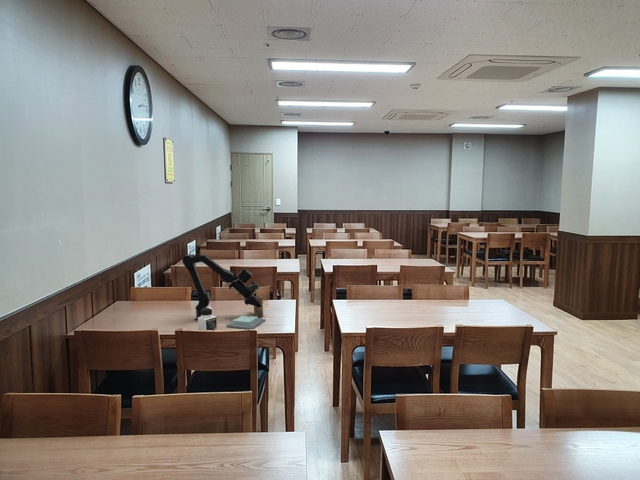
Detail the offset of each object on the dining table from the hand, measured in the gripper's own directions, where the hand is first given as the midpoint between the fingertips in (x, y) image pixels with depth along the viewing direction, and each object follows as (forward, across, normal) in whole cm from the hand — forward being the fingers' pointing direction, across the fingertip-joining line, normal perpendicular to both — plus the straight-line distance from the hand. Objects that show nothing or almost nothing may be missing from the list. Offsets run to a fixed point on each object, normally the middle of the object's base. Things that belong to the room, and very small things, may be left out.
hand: (260, 305), depth 262 cm
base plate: (-1, -14, +10) cm, 17 cm away
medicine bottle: (-15, -20, +25) cm, 35 cm away
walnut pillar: (+4, 0, +6) cm, 7 cm away
